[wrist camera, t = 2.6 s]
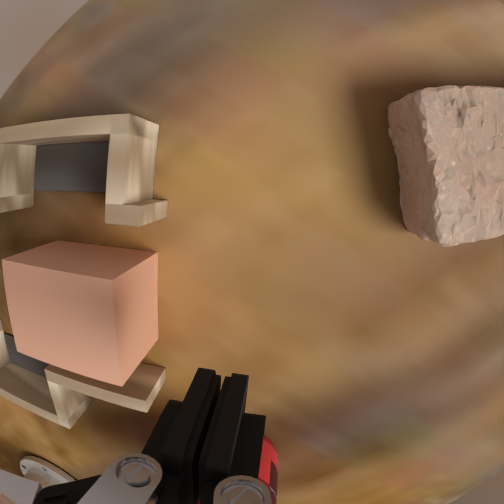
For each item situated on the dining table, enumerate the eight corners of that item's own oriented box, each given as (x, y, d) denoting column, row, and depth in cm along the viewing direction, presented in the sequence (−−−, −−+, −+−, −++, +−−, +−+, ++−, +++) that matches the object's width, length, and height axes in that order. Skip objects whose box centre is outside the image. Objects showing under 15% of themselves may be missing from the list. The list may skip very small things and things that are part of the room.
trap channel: (168, 422, 22) (152, 456, 19) (0, 363, 24) (-23, 381, 20) (174, 125, 18) (148, 112, 14) (-20, 141, 19) (-53, 140, 15)
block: (158, 337, 21) (122, 386, 15) (65, 317, 21) (17, 351, 16) (158, 251, 20) (112, 280, 14) (59, 239, 20) (1, 259, 14)
